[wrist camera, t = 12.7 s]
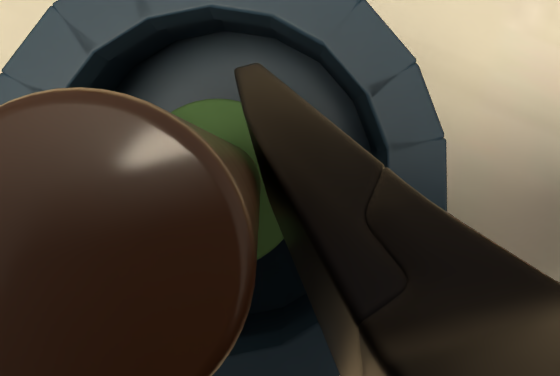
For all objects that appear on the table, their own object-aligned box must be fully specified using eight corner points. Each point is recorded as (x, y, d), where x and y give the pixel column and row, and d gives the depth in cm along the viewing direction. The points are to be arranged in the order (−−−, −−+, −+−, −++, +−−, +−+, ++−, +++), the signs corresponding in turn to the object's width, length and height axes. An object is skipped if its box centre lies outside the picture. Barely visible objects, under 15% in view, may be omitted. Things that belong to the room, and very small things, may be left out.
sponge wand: (318, 167, 15) (575, 205, 3) (240, 266, 15) (144, 741, 3) (218, 88, 15) (-1, -265, 3) (139, 189, 15) (-453, 332, 3)
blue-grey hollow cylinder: (447, 148, 16) (543, 144, 11) (257, 386, 16) (253, 504, 11) (206, -49, 16) (174, -159, 10) (13, 202, 16) (-121, 228, 10)
